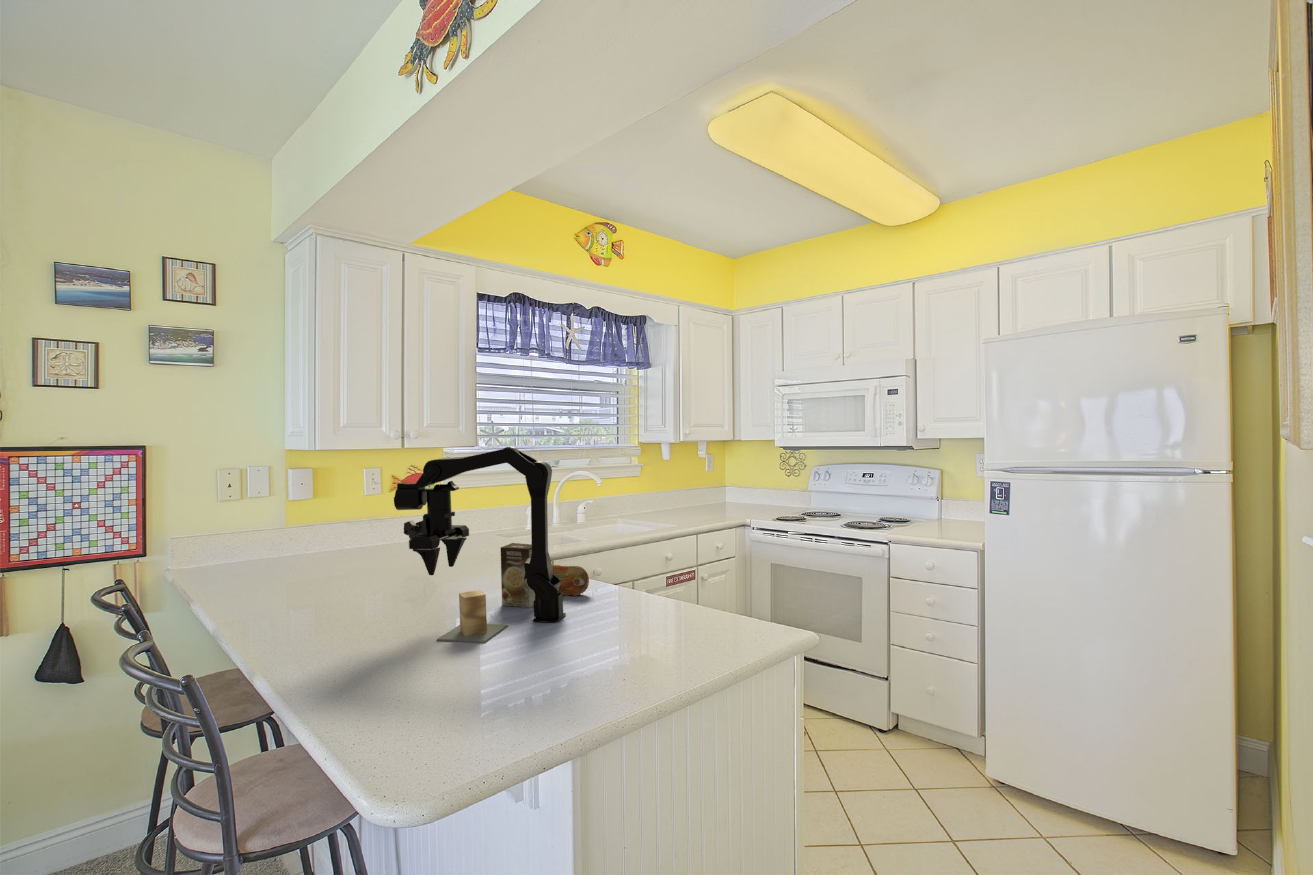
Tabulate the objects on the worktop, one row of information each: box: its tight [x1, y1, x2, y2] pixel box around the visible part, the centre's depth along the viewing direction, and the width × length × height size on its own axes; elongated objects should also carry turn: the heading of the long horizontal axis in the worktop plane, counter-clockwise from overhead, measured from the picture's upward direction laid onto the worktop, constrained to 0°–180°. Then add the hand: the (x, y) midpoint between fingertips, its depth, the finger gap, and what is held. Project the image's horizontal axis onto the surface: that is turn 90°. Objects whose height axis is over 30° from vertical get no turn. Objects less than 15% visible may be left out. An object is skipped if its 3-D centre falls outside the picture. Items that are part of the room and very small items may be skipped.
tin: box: [552, 564, 590, 597], centre depth 184 cm, size 15×3×8 cm, turn 68°
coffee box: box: [500, 542, 535, 608], centre depth 176 cm, size 9×6×16 cm
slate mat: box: [436, 623, 509, 644], centre depth 152 cm, size 12×12×1 cm
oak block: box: [458, 589, 488, 636], centre depth 151 cm, size 5×5×9 cm
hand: (441, 570), depth 161 cm, fingers open, 9 cm apart
